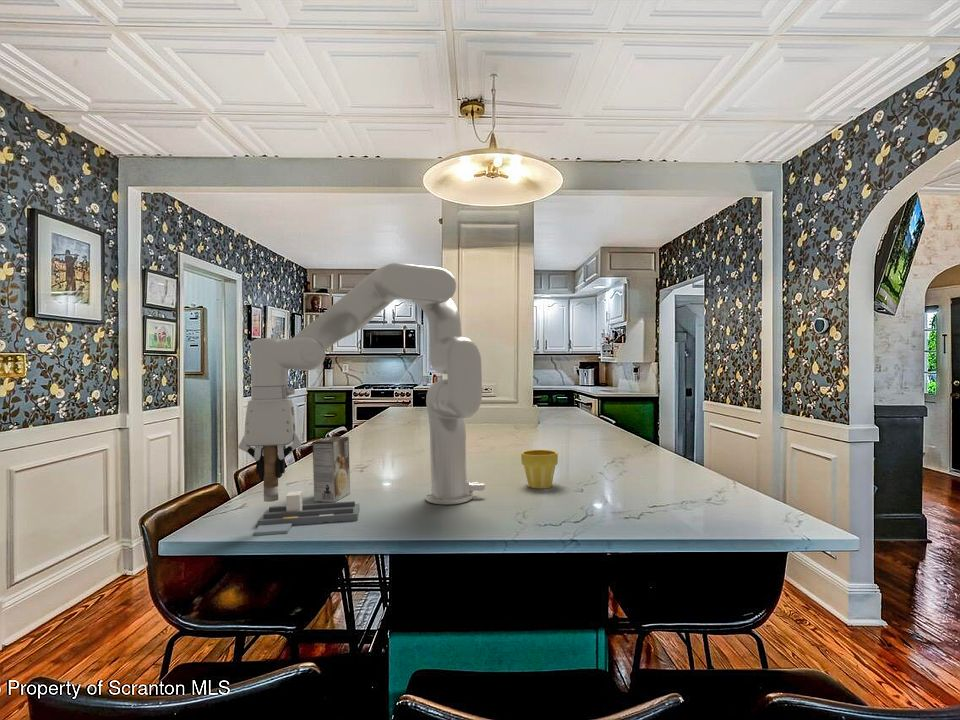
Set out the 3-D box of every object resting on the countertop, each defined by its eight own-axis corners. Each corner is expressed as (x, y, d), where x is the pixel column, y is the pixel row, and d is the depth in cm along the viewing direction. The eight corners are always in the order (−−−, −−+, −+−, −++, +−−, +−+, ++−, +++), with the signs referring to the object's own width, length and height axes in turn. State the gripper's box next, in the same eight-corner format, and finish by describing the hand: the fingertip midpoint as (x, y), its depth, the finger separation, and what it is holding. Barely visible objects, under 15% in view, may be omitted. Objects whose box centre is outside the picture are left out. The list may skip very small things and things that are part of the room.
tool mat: (291, 525, 119) (291, 523, 119) (287, 532, 114) (287, 530, 114) (259, 528, 118) (259, 525, 118) (253, 535, 113) (253, 532, 113)
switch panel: (359, 509, 131) (359, 499, 131) (357, 520, 122) (357, 509, 122) (266, 515, 127) (266, 505, 127) (257, 527, 118) (257, 516, 118)
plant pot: (533, 480, 158) (532, 447, 158) (564, 484, 152) (563, 450, 152) (515, 487, 149) (514, 453, 149) (547, 492, 143) (546, 456, 143)
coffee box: (329, 492, 148) (328, 436, 148) (350, 493, 147) (349, 436, 147) (313, 501, 139) (311, 441, 139) (335, 502, 138) (334, 441, 138)
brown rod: (279, 497, 117) (278, 435, 118) (276, 501, 115) (276, 437, 115) (265, 498, 117) (264, 435, 117) (262, 502, 114) (261, 437, 114)
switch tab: (302, 509, 126) (302, 491, 126) (299, 513, 122) (299, 495, 122) (289, 510, 125) (289, 491, 125) (286, 514, 122) (286, 495, 122)
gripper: (310, 392, 121) (311, 471, 121) (235, 393, 118) (236, 475, 118) (305, 394, 113) (306, 479, 113) (225, 396, 111) (226, 483, 111)
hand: (270, 476), depth 116 cm, fingers closed on brown rod, 3 cm apart
